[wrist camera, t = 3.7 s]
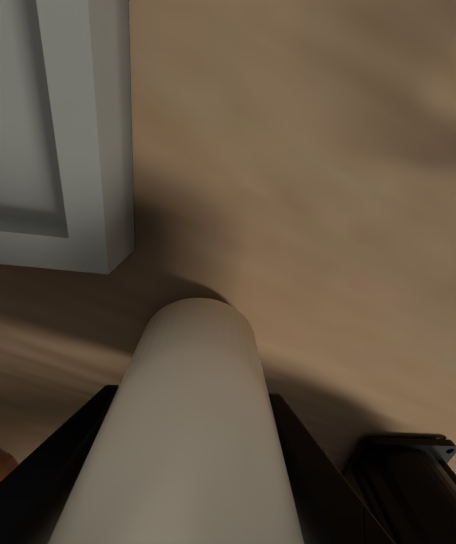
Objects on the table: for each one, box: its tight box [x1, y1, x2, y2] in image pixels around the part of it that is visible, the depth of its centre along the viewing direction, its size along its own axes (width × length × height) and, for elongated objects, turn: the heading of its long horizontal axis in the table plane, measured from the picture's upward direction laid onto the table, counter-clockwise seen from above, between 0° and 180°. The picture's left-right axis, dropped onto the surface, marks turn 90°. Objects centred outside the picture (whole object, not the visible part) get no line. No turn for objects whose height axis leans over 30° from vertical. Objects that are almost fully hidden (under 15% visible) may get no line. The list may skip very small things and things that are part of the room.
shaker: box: [48, 298, 304, 544], centre depth 6 cm, size 5×5×9 cm
